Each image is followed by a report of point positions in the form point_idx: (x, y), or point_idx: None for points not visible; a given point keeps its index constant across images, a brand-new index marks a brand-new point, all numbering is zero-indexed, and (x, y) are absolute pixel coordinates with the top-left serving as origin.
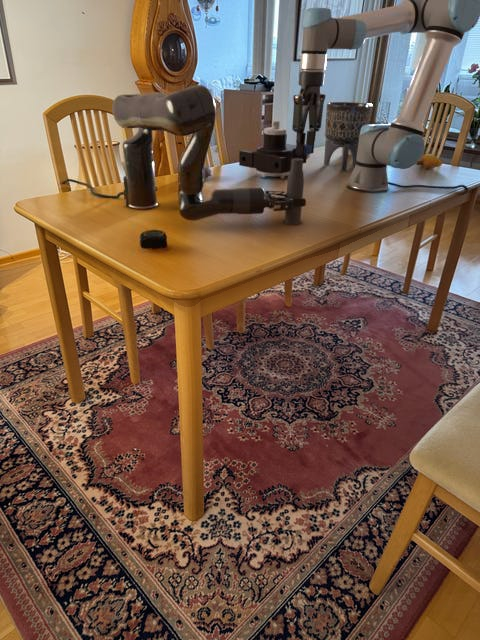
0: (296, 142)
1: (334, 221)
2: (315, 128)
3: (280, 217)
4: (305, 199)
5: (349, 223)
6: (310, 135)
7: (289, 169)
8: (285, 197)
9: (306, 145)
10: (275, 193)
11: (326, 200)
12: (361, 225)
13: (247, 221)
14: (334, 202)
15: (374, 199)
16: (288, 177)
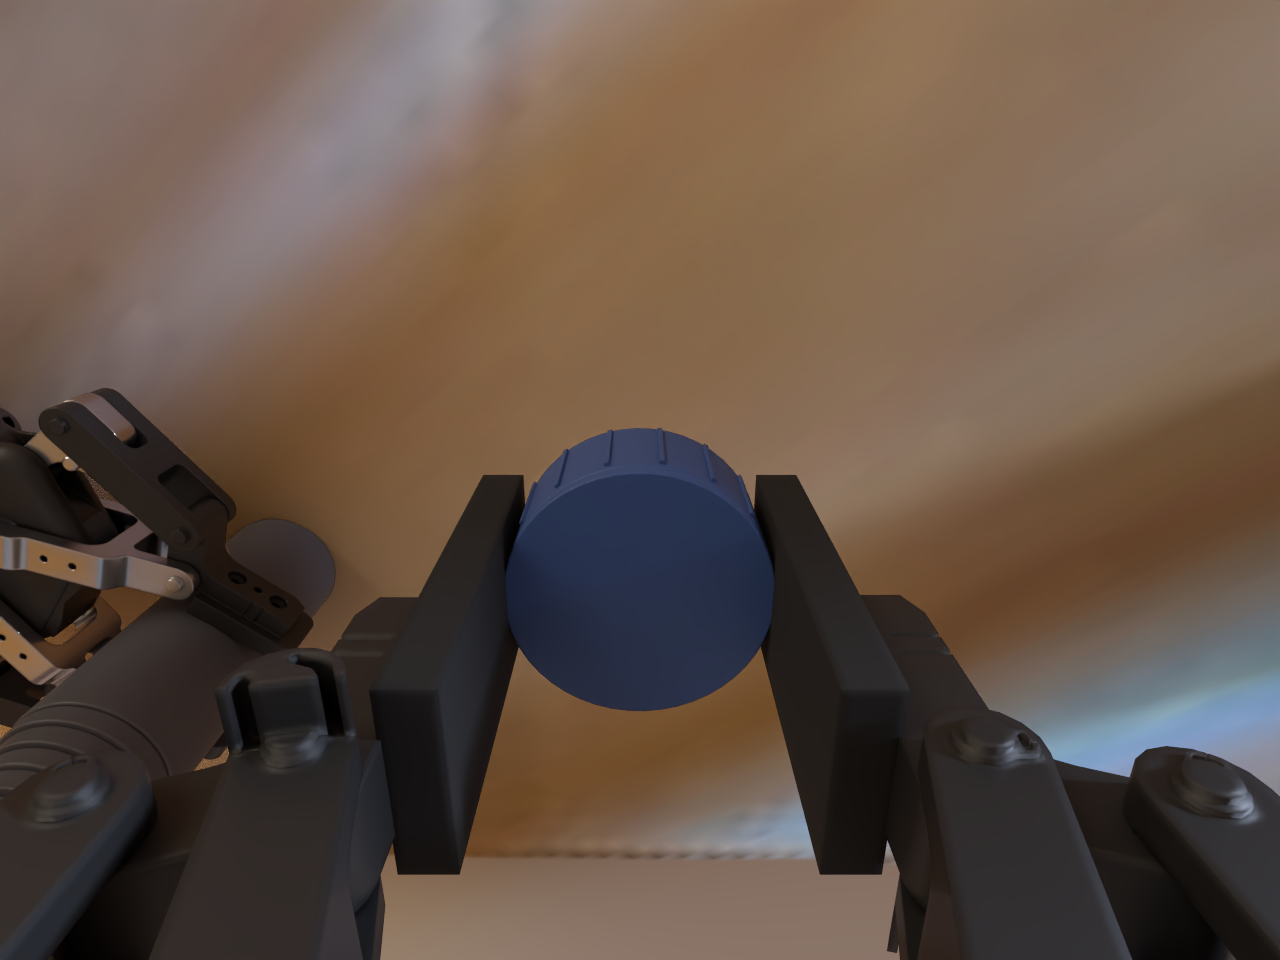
0: (369, 612)
1: (523, 719)
2: (908, 937)
3: (284, 449)
4: (212, 758)
5: (563, 788)
6: (809, 722)
7: None
8: (58, 674)
9: (674, 607)
10: (33, 567)
11: (938, 414)
12: (586, 841)
13: (4, 347)
14: (926, 491)
15: (1211, 642)
16: (4, 741)
